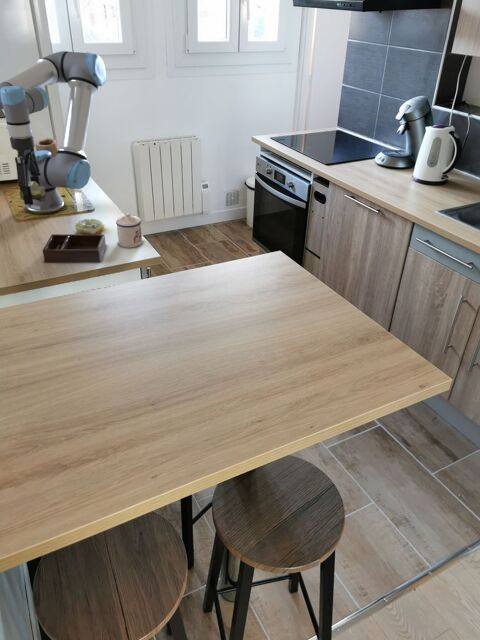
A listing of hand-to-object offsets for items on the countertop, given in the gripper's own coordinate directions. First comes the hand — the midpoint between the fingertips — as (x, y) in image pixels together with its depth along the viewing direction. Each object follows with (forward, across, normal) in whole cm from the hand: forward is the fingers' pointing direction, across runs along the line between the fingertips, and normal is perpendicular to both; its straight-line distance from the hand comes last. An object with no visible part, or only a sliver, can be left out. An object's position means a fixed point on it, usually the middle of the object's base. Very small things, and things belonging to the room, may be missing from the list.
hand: (33, 198), depth 188 cm
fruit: (0, 0, 0) cm, 1 cm away
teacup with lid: (+15, +4, +35) cm, 38 cm away
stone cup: (+15, -80, -15) cm, 82 cm away
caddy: (+15, +15, +17) cm, 27 cm away
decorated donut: (+15, -4, +18) cm, 24 cm away
